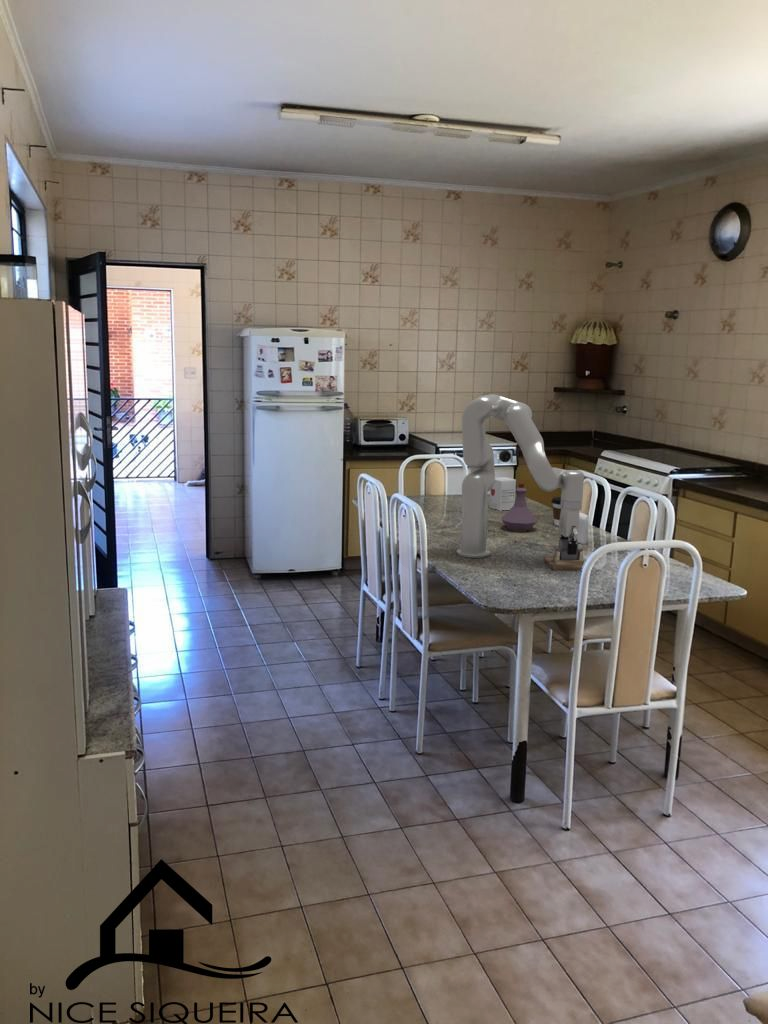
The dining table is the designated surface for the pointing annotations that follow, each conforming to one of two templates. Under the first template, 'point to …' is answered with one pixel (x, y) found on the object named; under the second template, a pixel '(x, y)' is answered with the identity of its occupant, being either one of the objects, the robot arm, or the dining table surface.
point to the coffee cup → (556, 509)
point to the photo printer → (583, 528)
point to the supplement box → (503, 493)
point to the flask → (519, 513)
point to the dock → (564, 562)
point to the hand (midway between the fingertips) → (567, 550)
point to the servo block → (563, 550)
